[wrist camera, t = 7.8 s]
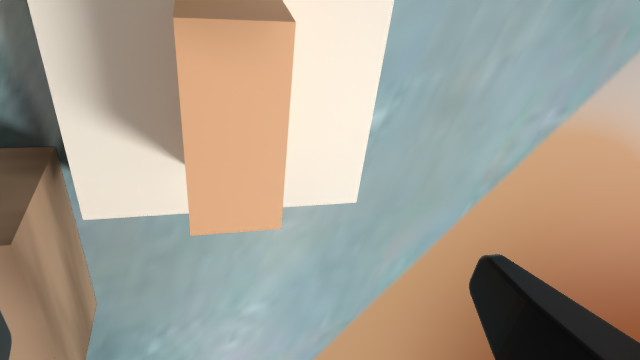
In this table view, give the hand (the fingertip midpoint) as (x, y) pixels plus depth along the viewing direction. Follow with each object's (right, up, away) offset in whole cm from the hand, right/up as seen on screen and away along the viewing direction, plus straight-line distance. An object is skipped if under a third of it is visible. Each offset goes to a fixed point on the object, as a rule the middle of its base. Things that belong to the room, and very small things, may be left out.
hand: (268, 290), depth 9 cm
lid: (-3, +6, +9) cm, 11 cm away
